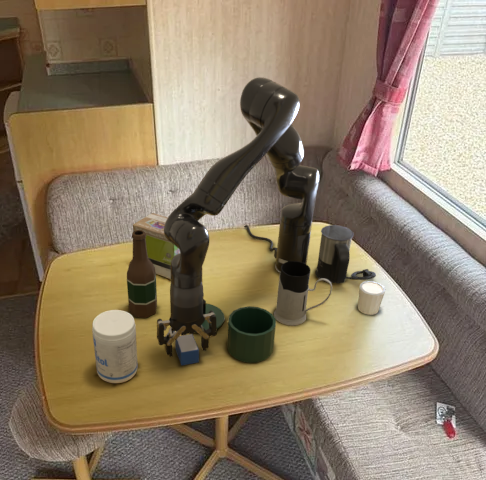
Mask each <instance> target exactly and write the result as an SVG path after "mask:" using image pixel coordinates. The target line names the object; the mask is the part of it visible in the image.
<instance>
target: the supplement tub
mask: <svg viewBox="0 0 486 480" xmlns="http://www.w3.org/2000/svg"><path fill="white" fill-rule="evenodd" d="M91 330H92V341H93V348H94V350H93V351H94V358H95V359H94V360H95V367H96V374H97V375H98V377H99V378H100V379H101V380H102V381H104V382H106V383H110V384H120V383H125V382H127V381H129V380H131V379H132V378H133V377H134V376H135V375H137V372H138V368H139V367H138V365H139V364H138V347H137V327H136V321H135V318H134V315H133V314H132V313H130V312H128V311H126V310H121V309H110V310H106V311H102V312H100V313H98V314H97V316H95V317H94V319H93V321H92V329H91Z"/></svg>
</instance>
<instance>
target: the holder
mask: <svg viewBox="0 0 486 480" xmlns="http://www.w3.org/2000/svg"><path fill="white" fill-rule="evenodd" d="M278 275H279V277H278V285H277V296H276V304H275V309H274V311H273V316H274V317H275V319H276V322H279V323H280V324H283V325H286V326H299V325H302V324H303V323H305V322H306V320H307V312H308V311H310V310H313V309H316V308H318V307H320V306H322V305H324V304H325V303H326V302H327V301H328V300H329V298H330V297H331V295H332V290H333V283H331V282H330V281H329V280H327V279H324V278H321V279H319V278H317V280H316V281H315V282H314V286H313V288H310V285H309V284H310V277H311V276H310V275H311V267H310V266H309V265H308V264H307V265H306V264H305V263H302V262H299V261H289V262H285V263H284V264H282V266H281V272H280V274H278ZM322 280H324V281H326V282H325V283H328V284H329V286H330V290H329V293H328V295H327V296H326V298H325V299H324V300H323V301H321V302H320V303H318V304H315V305H313V306H309V308H307V303H308V295H309V292H314V291H315V290H316V288H317V284H319V282H321V281H322ZM324 281H323V282H324Z"/></svg>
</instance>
